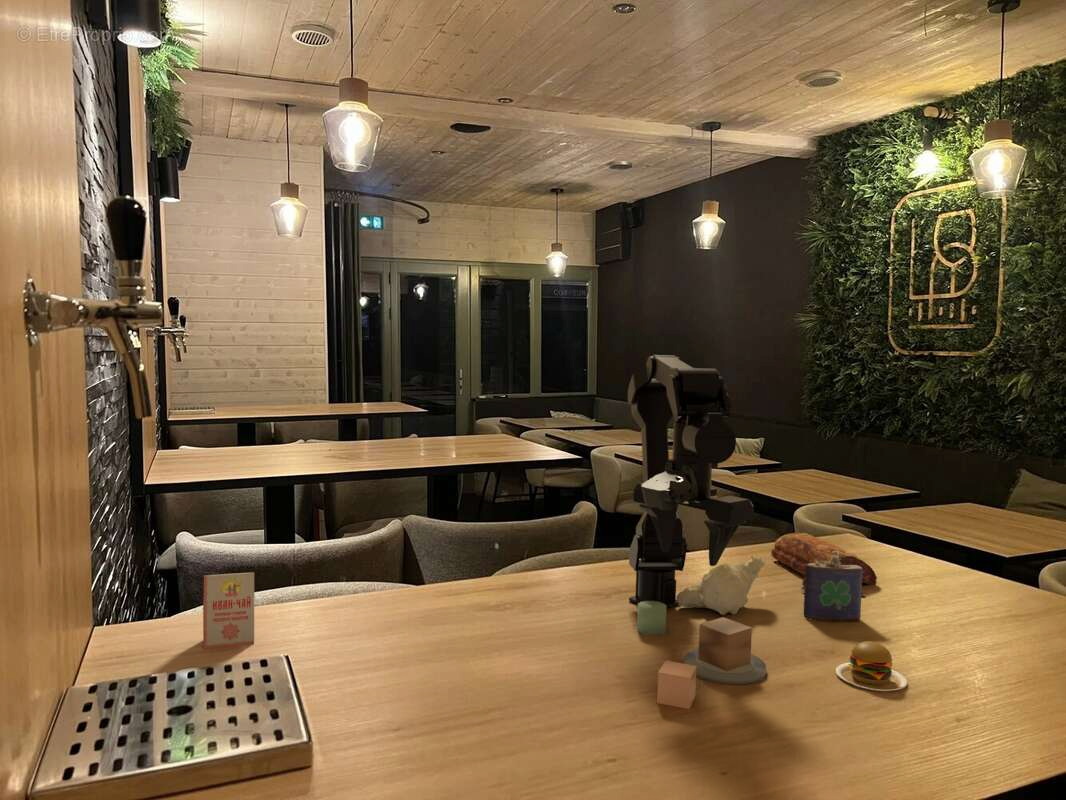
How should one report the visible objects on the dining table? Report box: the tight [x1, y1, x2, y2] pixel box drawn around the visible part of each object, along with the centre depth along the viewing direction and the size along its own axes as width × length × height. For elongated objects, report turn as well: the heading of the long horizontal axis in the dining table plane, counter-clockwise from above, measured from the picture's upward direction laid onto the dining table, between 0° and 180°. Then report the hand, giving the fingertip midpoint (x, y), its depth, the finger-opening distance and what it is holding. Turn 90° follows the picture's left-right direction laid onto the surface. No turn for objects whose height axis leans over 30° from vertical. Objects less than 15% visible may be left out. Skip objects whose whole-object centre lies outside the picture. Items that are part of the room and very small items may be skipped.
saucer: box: [683, 647, 767, 685], centre depth 110 cm, size 11×11×1 cm
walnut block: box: [698, 617, 753, 671], centre depth 109 cm, size 5×5×5 cm
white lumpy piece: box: [676, 555, 766, 615], centre depth 134 cm, size 15×7×15 cm
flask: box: [803, 555, 863, 622], centre depth 130 cm, size 9×3×11 cm, turn 87°
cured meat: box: [770, 532, 878, 597], centre depth 155 cm, size 18×25×7 cm
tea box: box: [202, 571, 255, 650], centre depth 115 cm, size 4×7×10 cm, turn 108°
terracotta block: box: [656, 660, 697, 710], centre depth 99 cm, size 4×4×4 cm
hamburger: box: [835, 640, 908, 692], centre depth 107 cm, size 12×12×6 cm
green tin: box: [636, 601, 667, 636], centre depth 123 cm, size 4×4×4 cm
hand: (688, 558), depth 117 cm, fingers open, 9 cm apart
